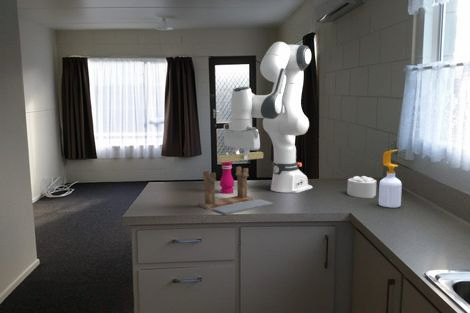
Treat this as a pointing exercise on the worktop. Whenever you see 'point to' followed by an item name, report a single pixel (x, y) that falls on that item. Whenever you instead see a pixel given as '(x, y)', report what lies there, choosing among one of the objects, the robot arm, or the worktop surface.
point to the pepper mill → (227, 178)
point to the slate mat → (242, 206)
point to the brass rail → (239, 157)
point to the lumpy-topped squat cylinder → (362, 187)
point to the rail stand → (213, 203)
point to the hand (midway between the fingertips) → (241, 158)
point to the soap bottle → (390, 185)
